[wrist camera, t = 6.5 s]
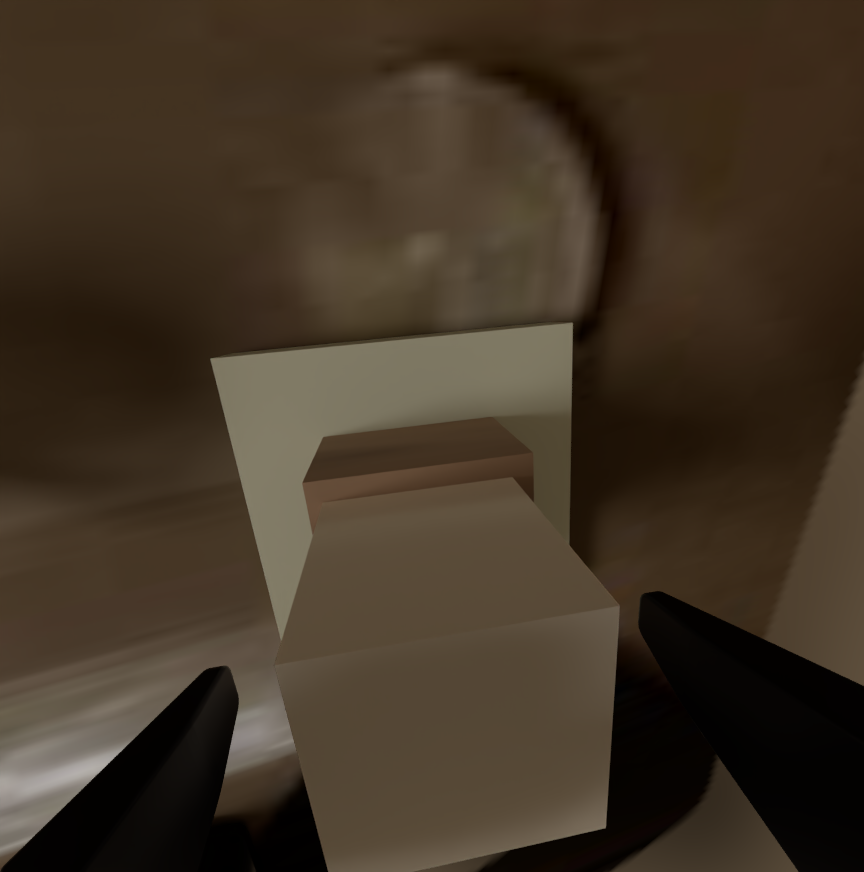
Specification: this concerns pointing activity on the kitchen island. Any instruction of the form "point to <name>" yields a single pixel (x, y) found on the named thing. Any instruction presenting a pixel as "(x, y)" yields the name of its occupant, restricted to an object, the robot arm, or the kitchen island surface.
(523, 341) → the base board
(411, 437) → the walnut block
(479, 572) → the ceramic cube
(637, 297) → the kitchen island surface
